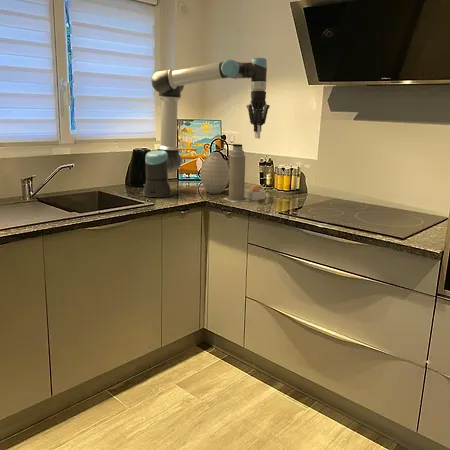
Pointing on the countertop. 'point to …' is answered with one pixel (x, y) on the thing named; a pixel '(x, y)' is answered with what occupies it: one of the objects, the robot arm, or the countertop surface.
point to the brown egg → (255, 188)
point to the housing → (255, 195)
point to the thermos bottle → (237, 173)
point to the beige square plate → (236, 200)
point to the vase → (214, 173)
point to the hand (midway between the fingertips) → (257, 138)
